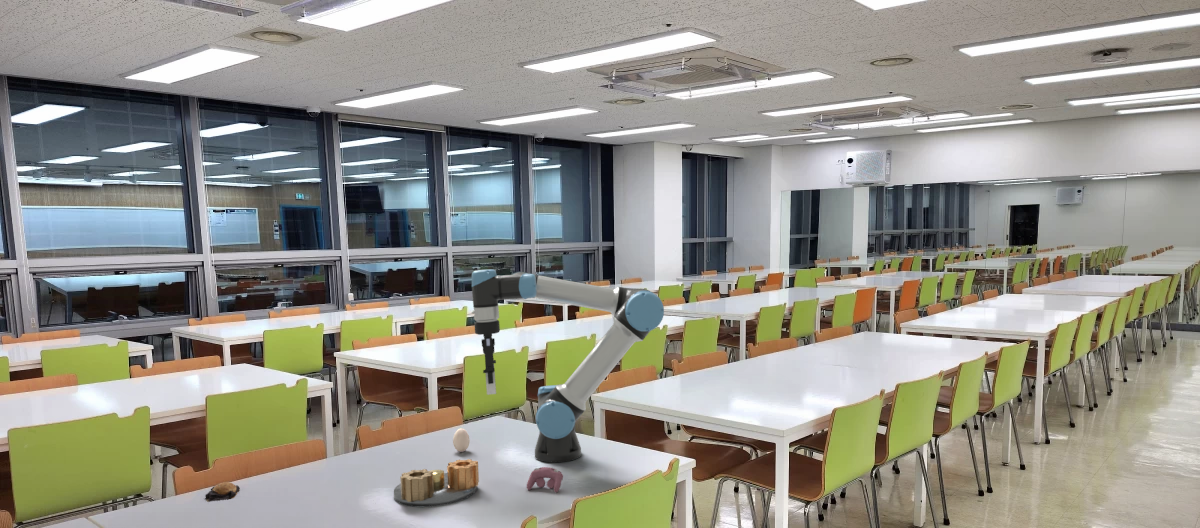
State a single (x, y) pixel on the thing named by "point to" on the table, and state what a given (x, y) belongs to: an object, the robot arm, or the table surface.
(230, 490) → the brown and black mound
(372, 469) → the table surface
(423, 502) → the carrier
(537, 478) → the video game controller
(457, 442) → the egg
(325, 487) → the table surface
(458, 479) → the planet gear
